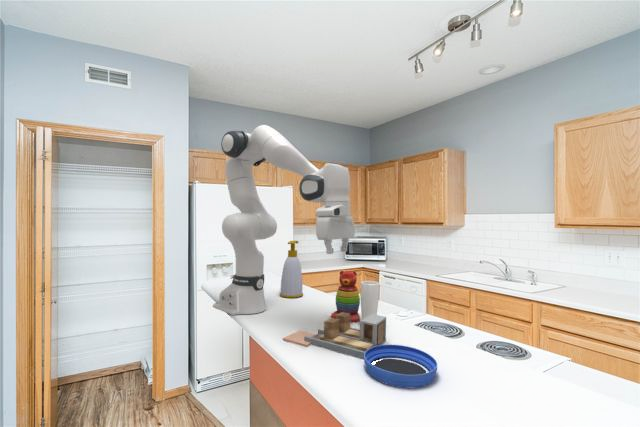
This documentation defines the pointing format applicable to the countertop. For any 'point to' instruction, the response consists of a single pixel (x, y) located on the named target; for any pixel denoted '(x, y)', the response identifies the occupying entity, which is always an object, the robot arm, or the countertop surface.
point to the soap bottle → (291, 275)
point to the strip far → (345, 327)
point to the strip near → (333, 336)
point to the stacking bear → (348, 296)
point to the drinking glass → (369, 298)
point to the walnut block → (369, 331)
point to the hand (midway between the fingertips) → (337, 252)
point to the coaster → (299, 338)
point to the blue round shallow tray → (400, 365)
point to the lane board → (368, 320)
